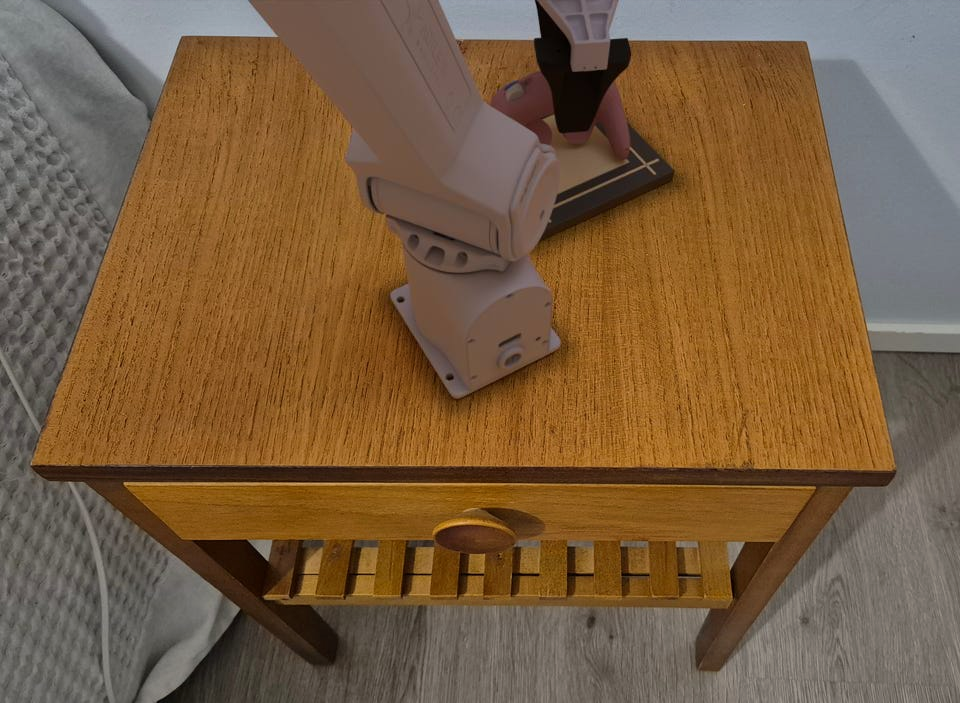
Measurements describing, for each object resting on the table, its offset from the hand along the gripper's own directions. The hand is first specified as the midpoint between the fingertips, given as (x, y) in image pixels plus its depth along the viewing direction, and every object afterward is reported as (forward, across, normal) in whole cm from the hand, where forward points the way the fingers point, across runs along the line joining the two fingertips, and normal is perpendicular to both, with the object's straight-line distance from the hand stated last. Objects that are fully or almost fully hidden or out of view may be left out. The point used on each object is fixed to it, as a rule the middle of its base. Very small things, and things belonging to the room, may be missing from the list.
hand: (566, 90), depth 56 cm
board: (+7, 0, 0) cm, 7 cm away
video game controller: (+6, 0, 0) cm, 6 cm away
